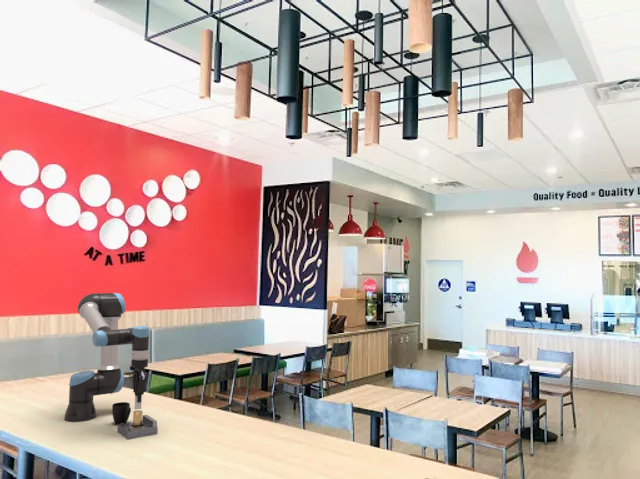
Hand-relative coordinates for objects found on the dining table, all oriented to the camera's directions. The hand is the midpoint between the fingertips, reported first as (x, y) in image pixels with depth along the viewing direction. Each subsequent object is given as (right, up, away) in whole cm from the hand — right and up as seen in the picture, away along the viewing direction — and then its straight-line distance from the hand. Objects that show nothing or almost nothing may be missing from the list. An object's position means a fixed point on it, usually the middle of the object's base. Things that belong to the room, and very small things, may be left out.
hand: (137, 408), depth 247 cm
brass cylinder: (0, -11, -1) cm, 11 cm away
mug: (-13, -12, +13) cm, 22 cm away
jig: (0, -11, -1) cm, 11 cm away
